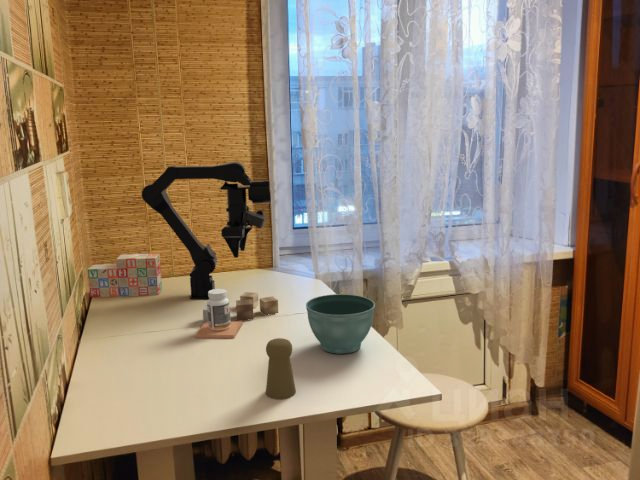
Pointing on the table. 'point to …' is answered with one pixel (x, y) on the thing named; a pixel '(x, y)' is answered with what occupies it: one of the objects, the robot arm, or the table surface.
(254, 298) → the beech block
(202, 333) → the terracotta tile
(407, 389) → the table surface
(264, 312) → the oak block
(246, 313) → the walnut cube
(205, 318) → the grey painted block
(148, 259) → the stack of blocks
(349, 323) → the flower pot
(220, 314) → the pill bottle
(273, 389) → the olive pawn
